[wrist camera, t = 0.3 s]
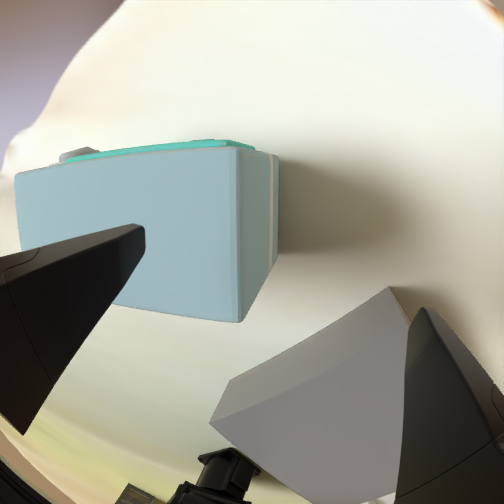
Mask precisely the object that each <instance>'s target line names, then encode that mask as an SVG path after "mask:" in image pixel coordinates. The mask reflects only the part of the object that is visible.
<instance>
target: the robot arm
mask: <svg viewBox="0 0 504 504" xmlns="http://www.w3.org/2000/svg"><path fill="white" fill-rule="evenodd" d="M145 250H146V239H145V228H144V227H143V226H142V225H138V224H135V223H131V224H127V225H123V226H119V227H114V228H110V229H106V230H102V231H98V232H94V233H90V234H86V235H82V236H78V237H74V238H70V239H67V240H63V241H59V242H55V243H52V244H48V245H44V246H42V247H37V248H34V249H30V250H26V251H23V252H19V253H15V254H11V255H7V256H3V257H0V415H1V416H2V417H3V418H4V419H5V420H6V421H7V422H8V423H9V424H10V425H11V426H12V427H13V428H15V429H16V430H17V431H18V432H19V433H20V434H21V435H24V434H25V433H26V431H27V430H28V428H29V426H30V424H31V423H32V421H33V419H34V418H35V416H36V414H37V413H38V411H39V409H40V408H41V406H42V404H43V403H44V401H45V400H46V398H47V396H48V395H49V393H50V392H51V390H52V389H53V387H54V385H55V384H56V382H57V381H58V379H59V378H60V376H61V374H62V373H63V371H64V370H65V368H66V367H67V365H68V364H69V363H70V361H71V360H72V358H73V357H74V355H75V354H76V352H77V351H78V349H79V348H80V346H81V345H82V344H83V342H84V341H85V339H86V338H87V337H88V335H89V334H90V332H91V331H92V330H93V328H94V327H95V325H96V324H97V323H98V321H99V320H100V318H101V317H102V316H103V314H104V313H105V312H106V310H107V309H108V308H109V306H110V305H111V304H112V302H113V301H114V300H115V298H116V297H117V296H118V294H119V293H120V292H121V290H122V289H123V287H124V286H125V284H126V283H127V281H128V280H129V278H130V276H131V275H132V273H133V271H134V270H135V268H136V267H137V265H138V264H139V262H140V260H141V259H142V257H143V256H144V253H145ZM198 460H199V461H200V462H201V463H203V464H204V465H205V466H204V468H203V470H202V473H201V475H200V477H199V479H198V481H197V483H196V485H194V484H191V483H189V482H188V481H185V482H184V484H179V486H178V488H177V490H176V492H175V494H174V495H173V496H172V497H171V499H170V500H169V501H168V502H167V504H251V503H252V502H250V501H243V498H244V495H245V492H246V491H248V488H249V485H250V481H251V478H252V477H255V476H259V475H260V474H261V471H260V470H258V469H257V468H256V467H254V466H253V465H252V464H250V463H249V462H248V461H247V460H245V459H244V458H243V457H242V456H240V455H239V454H238V453H237V452H236V451H234V450H233V449H231V448H227V449H223V450H220V451H216V452H212V453H208V454H204V455H200V456H199V457H198ZM0 504H59V503H57V502H56V501H55V500H53V499H52V498H51V497H49V496H48V495H47V494H45V493H44V492H43V491H41V490H40V489H39V488H38V487H36V486H35V485H34V484H33V483H32V482H30V481H29V480H28V479H27V478H25V477H24V476H23V475H22V474H21V473H20V472H19V471H18V470H16V469H15V468H14V467H13V466H12V465H11V464H10V463H9V462H8V461H7V460H6V459H5V458H3V457H2V456H1V455H0ZM394 504H504V395H503V394H502V393H501V391H500V390H499V389H498V387H497V386H496V384H493V381H492V379H491V378H490V377H489V375H488V374H487V373H486V371H485V370H484V369H483V368H482V366H481V365H480V364H479V362H478V361H477V360H476V359H475V357H474V356H473V355H472V354H471V352H470V351H469V350H468V349H467V348H466V346H465V345H464V344H463V343H462V341H461V340H460V339H459V338H458V337H457V335H456V334H455V333H454V332H453V331H452V330H451V328H450V327H449V326H448V325H447V324H446V323H445V321H444V320H443V319H442V318H441V317H440V316H439V315H438V313H437V312H436V311H435V310H434V309H431V308H427V307H422V308H421V309H420V310H419V311H418V313H417V315H416V316H415V318H414V320H413V321H412V323H411V325H410V326H409V329H408V336H407V350H406V361H405V372H404V412H403V430H402V444H401V455H400V464H399V473H398V480H397V487H396V494H395V500H394Z"/></svg>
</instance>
